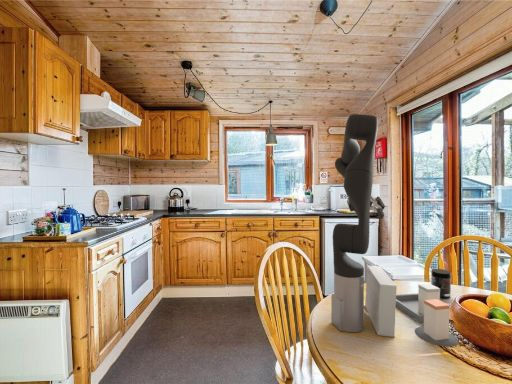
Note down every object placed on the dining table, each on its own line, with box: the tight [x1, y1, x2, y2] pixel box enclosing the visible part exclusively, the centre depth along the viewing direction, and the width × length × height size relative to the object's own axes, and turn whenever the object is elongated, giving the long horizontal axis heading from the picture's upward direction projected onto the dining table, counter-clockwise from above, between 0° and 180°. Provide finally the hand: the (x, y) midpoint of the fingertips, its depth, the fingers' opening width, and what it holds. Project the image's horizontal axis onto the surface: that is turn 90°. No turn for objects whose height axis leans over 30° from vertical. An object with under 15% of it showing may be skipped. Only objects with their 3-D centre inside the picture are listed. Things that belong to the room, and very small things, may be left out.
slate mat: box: [414, 325, 459, 348], centre depth 84 cm, size 11×11×1 cm
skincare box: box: [364, 265, 398, 338], centre depth 95 cm, size 21×6×16 cm, turn 168°
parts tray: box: [396, 293, 451, 324], centre depth 102 cm, size 18×14×2 cm
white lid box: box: [417, 283, 441, 315], centre depth 97 cm, size 5×5×10 cm
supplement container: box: [430, 268, 452, 300], centre depth 114 cm, size 7×7×10 cm
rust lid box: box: [423, 299, 451, 340], centre depth 84 cm, size 5×5×10 cm
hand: (372, 218), depth 111 cm, fingers open, 8 cm apart
